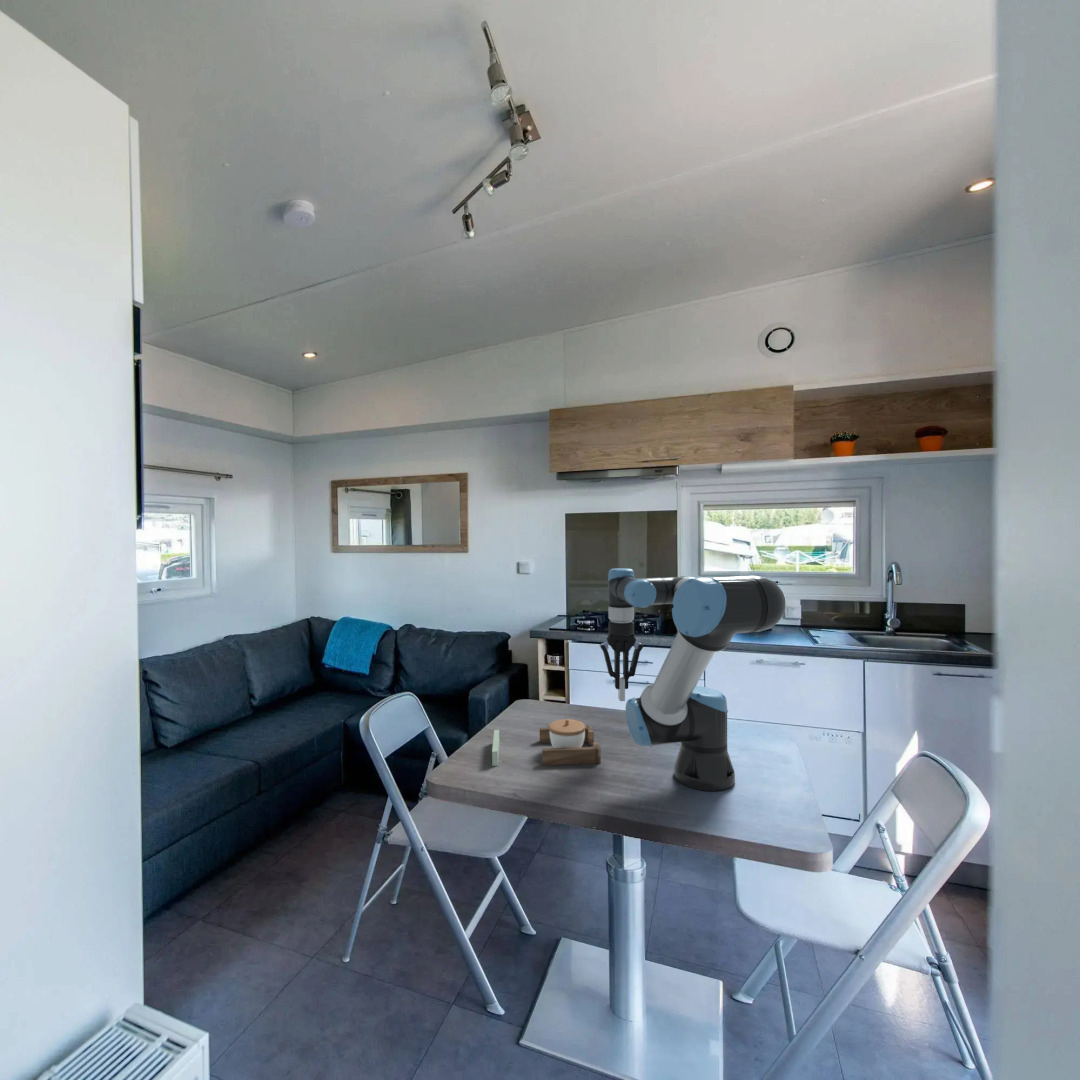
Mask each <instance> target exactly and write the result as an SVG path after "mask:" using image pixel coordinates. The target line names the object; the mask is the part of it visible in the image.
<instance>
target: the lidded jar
mask: <svg viewBox="0 0 1080 1080" xmlns="http://www.w3.org/2000/svg"><path fill="white" fill-rule="evenodd" d="M585 727H586V724H585V723H584V722H583V721H580V720H577V719H573V718H572V719H571V718H567V719H565V718H562V719H556V720H554V721H551V722H549V724H548V728H549V734H550V741H551V742H550V744H551V746H552V748H574V747H584V746H583V745H584V742H585V741H584V738H585Z"/></svg>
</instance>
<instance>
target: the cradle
mask: <svg viewBox="0 0 1080 1080" xmlns="http://www.w3.org/2000/svg"><path fill="white" fill-rule="evenodd" d="M594 733H595V732H594V730H593V727H592V726H589V725H588V726H585V738H584V742H587V744H588V746H582V747H574V748H553V747H549V748H548V747H546V748H543V747H542V751H541V753H542V754H541V757H542V758H541V759H542V761H541V762H542V763H541V764H542V766H550V765H551V766H552V765H553V766H554V765H555V766H556V765H557V766H558V765H559V766H560V765H578V764H579V765H584V764H587V765H589V764H601V761H602V760H601V759H602V756H601V755H602V754H601V751H602V750H601V747H600V744H599V742H595V740H594V739H595V737H594V736H595V734H594ZM539 743H540V744H541V743H545V744H546V743H551V741H550V734H549V727H539Z"/></svg>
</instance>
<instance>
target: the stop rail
mask: <svg viewBox="0 0 1080 1080" xmlns="http://www.w3.org/2000/svg"><path fill="white" fill-rule="evenodd" d="M491 749H492V750H491V757H492V758H491V761H492V762H491V763H492V764H491V766H492V767H497V766H498V765H499V755H500V754H499V752H500V729H494V730H493V740H492V748H491Z"/></svg>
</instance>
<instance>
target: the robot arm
mask: <svg viewBox="0 0 1080 1080" xmlns="http://www.w3.org/2000/svg"><path fill="white" fill-rule="evenodd" d="M607 577H608V578H607V587H608V588H607V589H608V591H607V593H608V594H607V595H608V596H607V597H608V600H607V602H608V619H609V620H608V635H607V638H606V641H605V642H603V643H599V647H600V649H601V650H602V653H603V656H604V660H605V665H606V669H607V673H608V675H609V676H610V677H611V678H614V688H615V689H616V690H617V691H618V693H617V697H618V698H617V699H618V701H619V702H625V701H626V690H628V689H629V679H630V678H631V677H635V675H636V670H637V666H638V662H639V659H640V658H639V657H640V653H641V651H642V649H643V648H644V645H643V643H641V642H638V641H637V640H636V636H635V622H634V621H633V620H634V619H635V608H648V607H650V606H653V605H654V606H655V605H658V606H659V605H673V607H672V608H671V614H672V615H671V616H672V620H673V623H674V626H675V627H676V630H677V634H676V637H675V638H674V641H673V643H672V644H671V647H670V649H669V651H668V653H667V655H666V657H665V659H664V661H663V663H662V664H661V668H660V669H659V671H658V674H657V676H656V678H655V681H654V682H653V683H651V684H649V685H647V686H646V687H645V688H644V689H643V690H642V692H641V694H640V697H632V698H629V699H628V700H627V701H626V704H625V718H626V724H627V728H628V732H629V734H630V736H631V739H632V740H633V742H634V743H635V744H636V745H637V746H639V747H651V748H652V746H653V747H654V746H661V745H669V744H676V743H680V746H679V750H678V753H677V756H676V759H675V762H674V764H673V765H674V768H673V770H674V771H673V772H674V775H673V776H674V778H675V779H676V780H677V781H678V782H679V783H681V784H683V785H684V786H685V787H689V788H692V789H695V790H699V791H706V792H720V791H725V790H729V789H730V788H732V787H733V786H735V783H736V774H735V773H736V772H735V769H734V766H733V762H732V761H731V760H732V759H731V758H730V753H729V751H728V712H729V710H728V703H727V698H726V696H725V694H724V693H722V692H720V691H719V690H717V689H714V688H710V687H707V686H701V685H697V684H698V683H699V681H700V680H701V679H702V676H703V674H704V673H705V670H706V668H707V667H708V665H709V664H710V662H711V660H712V658H713V657H714V654H715V653H718V652H722V651H723V650H725V649H726V648H727V647H728V645H729V644H730V642H731V641H732V640H733V637H734V636H735V635H736V634H747V633H756V632H757V633H760V632H763V631H767V630H770V629H771V628H773V627H775V626H776V625H777V624H778V623H779V622H780V620H782V618H783V615H784V613H785V611H786V599H785V597H786V596H785V595H784V592H783V591H782V589H781V588H780V586H779V585H778V584H777V583H776V582H774V581H773V580H771V579H768V578H767V577H764V576H758V575H739V576H718V577H714V576H700V577H694V576H686V575H685V576H670V577H669V576H668V577H641V578H640V577H639V578H637V577H635V572H634V570H633V569H632V568H625V567H624V568H623V567H622V568H618V567H617V568H616V567H615V568H610V569H609V571H608V575H607ZM609 646H610V648H611V649H612V651H613V655H614V656H613V657H614V661H613V665H614V667H613V666H612V662H611V661H612V660H611V657H610V653H609V649H610V648H609ZM632 648H634V649H633V654H632V657H631V661H630V666H629V658H630V657H629V656H630V651H631V650H632ZM621 653H622V676H621V675H620V674H621V665H620V664H621ZM613 669H614V670H613Z"/></svg>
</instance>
